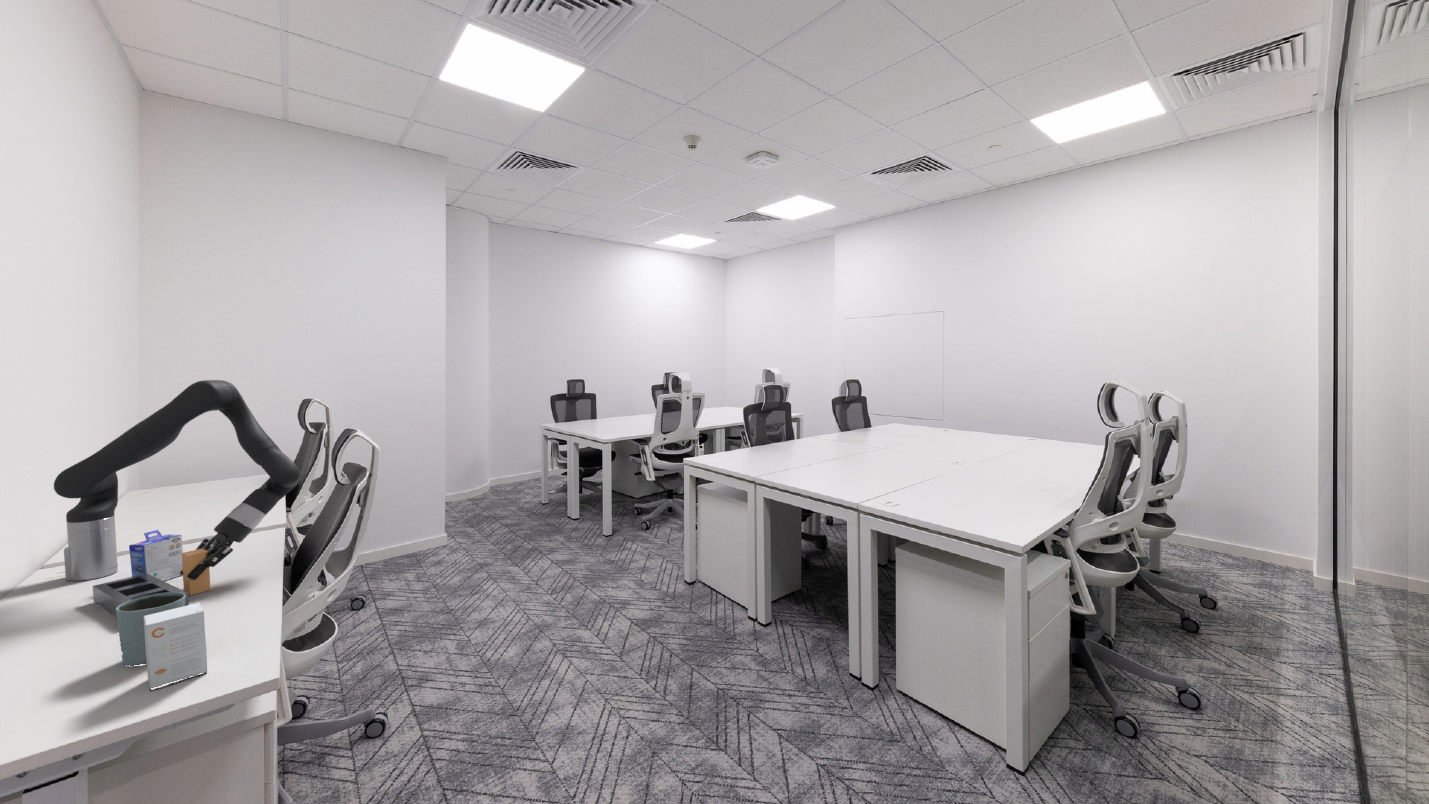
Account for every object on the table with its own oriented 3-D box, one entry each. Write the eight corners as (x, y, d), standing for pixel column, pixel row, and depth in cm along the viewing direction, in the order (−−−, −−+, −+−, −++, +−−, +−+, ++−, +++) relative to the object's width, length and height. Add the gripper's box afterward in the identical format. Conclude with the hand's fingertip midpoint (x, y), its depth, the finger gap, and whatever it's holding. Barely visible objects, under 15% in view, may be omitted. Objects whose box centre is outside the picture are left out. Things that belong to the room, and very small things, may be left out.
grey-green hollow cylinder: (111, 661, 110) (108, 605, 110) (177, 639, 119) (174, 587, 119) (129, 674, 106) (125, 615, 105) (196, 650, 115) (193, 596, 114)
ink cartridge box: (169, 573, 159) (166, 526, 158) (185, 574, 158) (183, 526, 157) (130, 586, 149) (127, 536, 148) (147, 587, 148) (144, 537, 147)
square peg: (190, 595, 143) (188, 555, 143) (183, 592, 145) (181, 553, 144) (210, 589, 147) (208, 550, 146) (204, 586, 149) (201, 548, 148)
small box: (203, 662, 110) (200, 601, 109) (208, 673, 106) (204, 610, 105) (146, 679, 104) (142, 615, 103) (148, 692, 100) (145, 625, 99)
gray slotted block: (93, 602, 138) (92, 585, 138) (147, 589, 147) (146, 573, 147) (132, 626, 125) (131, 608, 125) (189, 610, 134) (188, 592, 134)
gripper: (217, 512, 155) (162, 566, 145) (239, 518, 148) (183, 575, 138) (241, 525, 160) (189, 578, 150) (263, 532, 153) (211, 588, 143)
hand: (187, 576), depth 144 cm, fingers closed on square peg, 4 cm apart
